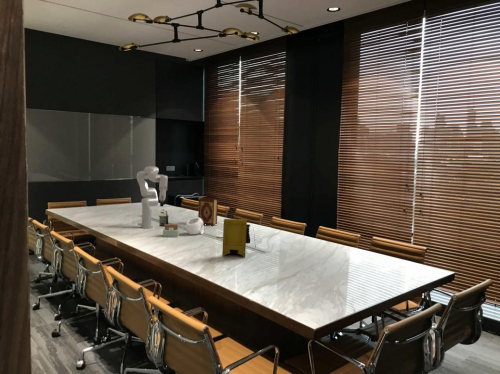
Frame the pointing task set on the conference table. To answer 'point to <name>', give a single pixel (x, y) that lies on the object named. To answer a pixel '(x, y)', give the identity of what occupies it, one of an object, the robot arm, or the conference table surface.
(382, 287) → the conference table surface
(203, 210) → the decorative book
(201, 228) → the skull planter
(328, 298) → the conference table surface
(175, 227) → the wooden staple shape
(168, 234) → the pale green box
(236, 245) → the olive boxy piece
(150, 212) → the robot arm
